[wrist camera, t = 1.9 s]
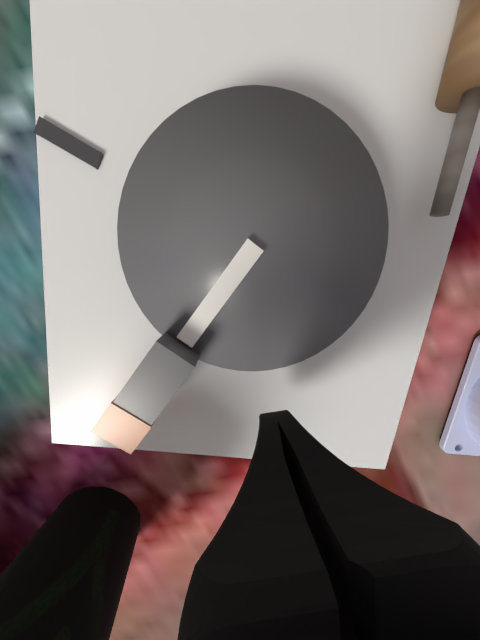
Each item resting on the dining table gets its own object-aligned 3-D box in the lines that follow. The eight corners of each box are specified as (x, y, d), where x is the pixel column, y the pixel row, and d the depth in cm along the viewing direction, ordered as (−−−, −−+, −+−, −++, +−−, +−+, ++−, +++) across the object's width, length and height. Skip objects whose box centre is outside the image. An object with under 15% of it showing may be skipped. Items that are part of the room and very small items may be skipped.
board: (496, 12, 11) (534, -26, 9) (373, 454, 16) (386, 472, 14) (48, -77, 10) (18, -133, 8) (66, 429, 15) (49, 445, 13)
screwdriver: (450, -16, 10) (522, -108, 7) (503, -4, 10) (590, -90, 7) (394, 217, 11) (437, 203, 9) (440, 223, 12) (494, 212, 9)
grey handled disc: (227, 54, 10) (224, -47, 7) (411, 226, 11) (478, 209, 8) (47, 344, 12) (-18, 370, 9) (221, 451, 14) (218, 504, 11)
